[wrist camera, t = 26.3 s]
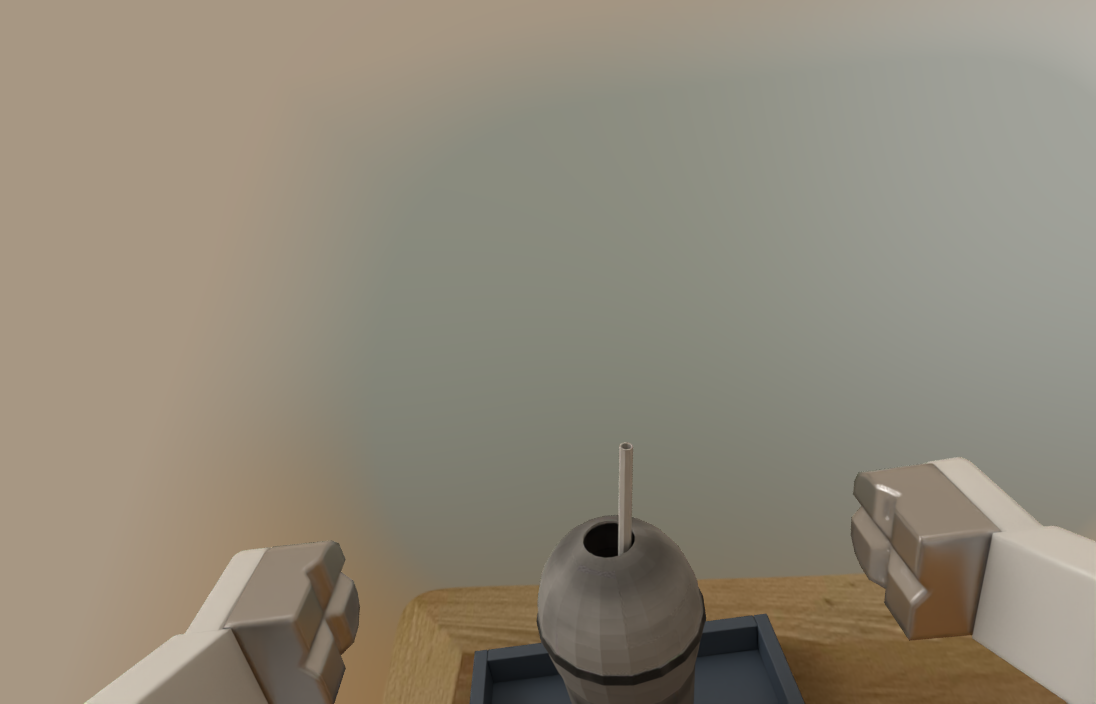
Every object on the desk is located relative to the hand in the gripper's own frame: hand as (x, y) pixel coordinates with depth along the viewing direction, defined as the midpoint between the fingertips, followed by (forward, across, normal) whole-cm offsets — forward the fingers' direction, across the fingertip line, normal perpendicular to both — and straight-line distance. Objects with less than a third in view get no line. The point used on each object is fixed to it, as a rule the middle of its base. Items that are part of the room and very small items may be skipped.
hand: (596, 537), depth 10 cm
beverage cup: (+12, -1, +26) cm, 29 cm away
